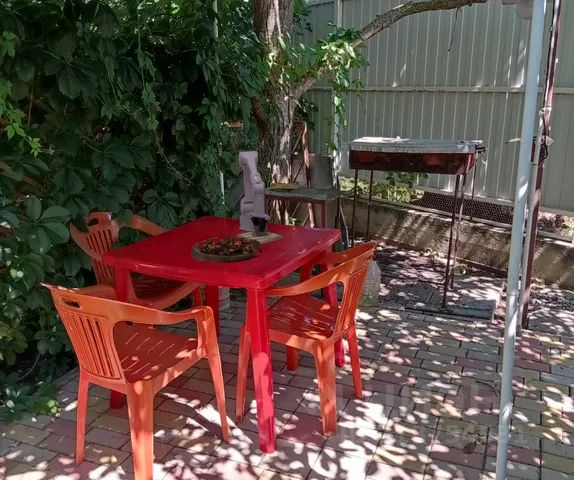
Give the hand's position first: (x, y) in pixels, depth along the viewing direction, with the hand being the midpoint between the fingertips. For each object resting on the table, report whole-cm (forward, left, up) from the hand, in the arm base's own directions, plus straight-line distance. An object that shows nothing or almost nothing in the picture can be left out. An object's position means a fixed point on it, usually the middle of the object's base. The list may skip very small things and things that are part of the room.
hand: (259, 231), depth 312 cm
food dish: (+10, -30, -4) cm, 32 cm away
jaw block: (0, 0, -2) cm, 2 cm away
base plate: (0, 0, -4) cm, 4 cm away
